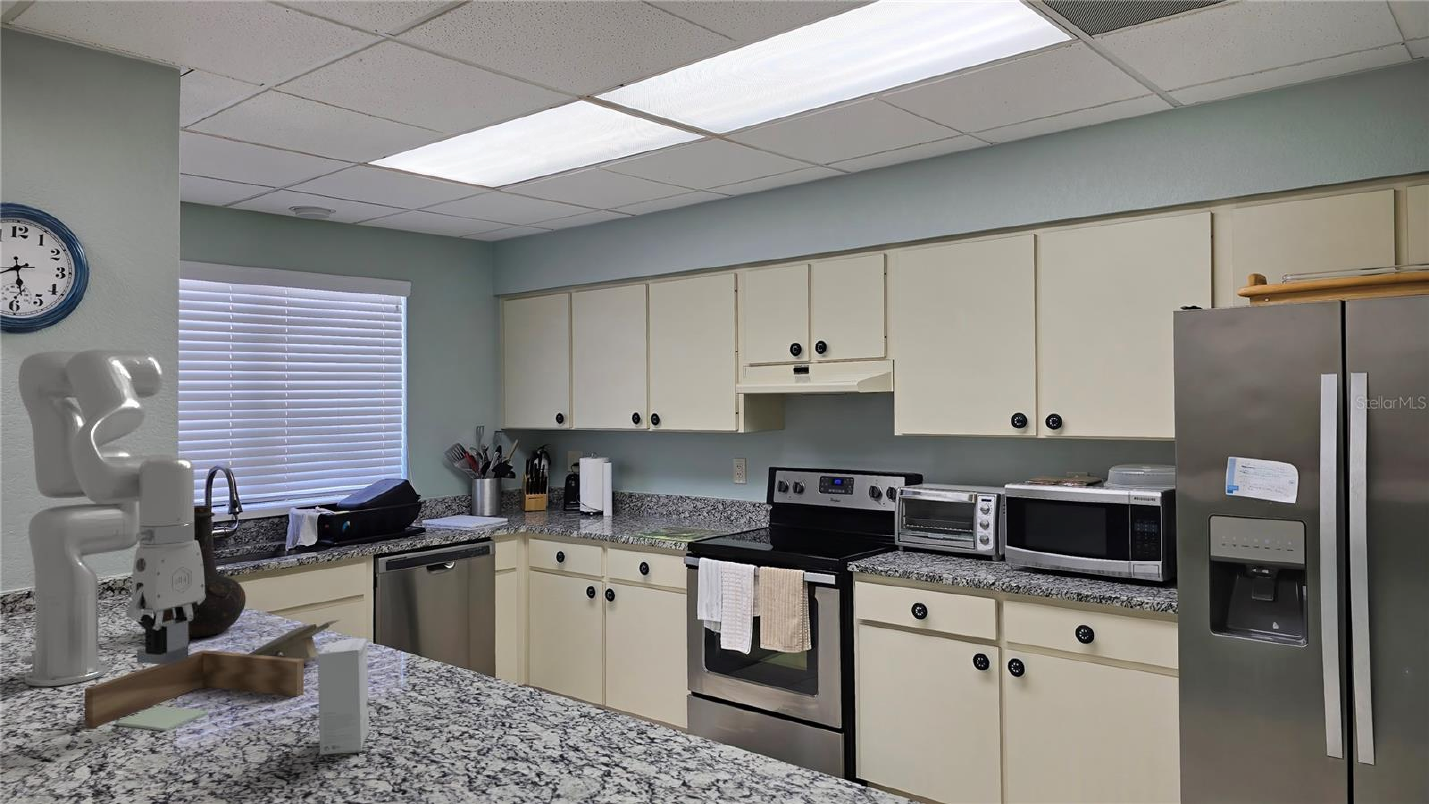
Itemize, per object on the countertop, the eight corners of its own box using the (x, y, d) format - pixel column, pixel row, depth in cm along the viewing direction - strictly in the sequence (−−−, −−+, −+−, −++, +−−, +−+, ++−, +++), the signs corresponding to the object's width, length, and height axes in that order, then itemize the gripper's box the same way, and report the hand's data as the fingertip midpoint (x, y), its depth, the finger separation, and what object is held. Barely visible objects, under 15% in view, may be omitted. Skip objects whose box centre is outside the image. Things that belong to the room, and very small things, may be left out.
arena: (84, 726, 142) (84, 688, 142) (203, 683, 164) (203, 650, 164) (196, 741, 136) (196, 701, 136) (303, 693, 158) (303, 659, 158)
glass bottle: (180, 648, 187) (179, 512, 186) (135, 636, 196) (135, 507, 196) (262, 630, 202) (262, 504, 202) (217, 619, 211) (217, 499, 211)
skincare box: (361, 753, 131) (361, 650, 131) (316, 756, 130) (316, 653, 130) (369, 732, 140) (369, 636, 140) (327, 735, 138) (327, 638, 138)
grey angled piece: (249, 702, 165) (312, 648, 166) (223, 665, 167) (285, 611, 167) (299, 688, 182) (356, 639, 182) (275, 654, 183) (331, 605, 184)
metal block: (167, 664, 142) (167, 626, 142) (137, 662, 144) (136, 624, 144) (188, 657, 146) (188, 620, 146) (158, 655, 148) (158, 618, 148)
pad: (115, 724, 143) (115, 722, 143) (159, 708, 150) (159, 705, 150) (166, 731, 140) (166, 728, 140) (207, 713, 148) (207, 711, 148)
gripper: (139, 544, 136) (140, 666, 136) (227, 529, 152) (228, 638, 152) (100, 542, 138) (101, 662, 138) (191, 527, 154) (192, 635, 154)
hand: (167, 648), depth 145 cm, fingers closed on metal block, 4 cm apart
